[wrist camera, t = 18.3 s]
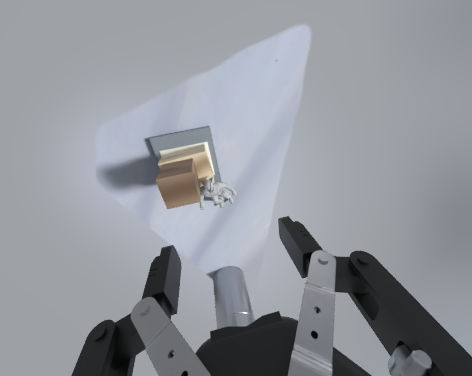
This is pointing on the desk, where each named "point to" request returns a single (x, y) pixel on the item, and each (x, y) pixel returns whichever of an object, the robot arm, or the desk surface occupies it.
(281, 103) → the desk surface
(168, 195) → the walnut cube
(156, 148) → the board
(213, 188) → the soldier figure
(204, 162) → the maple block
